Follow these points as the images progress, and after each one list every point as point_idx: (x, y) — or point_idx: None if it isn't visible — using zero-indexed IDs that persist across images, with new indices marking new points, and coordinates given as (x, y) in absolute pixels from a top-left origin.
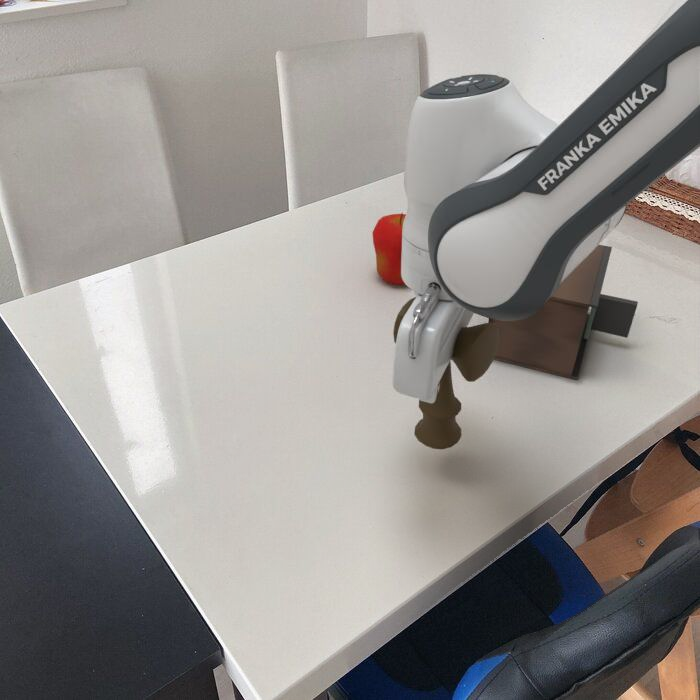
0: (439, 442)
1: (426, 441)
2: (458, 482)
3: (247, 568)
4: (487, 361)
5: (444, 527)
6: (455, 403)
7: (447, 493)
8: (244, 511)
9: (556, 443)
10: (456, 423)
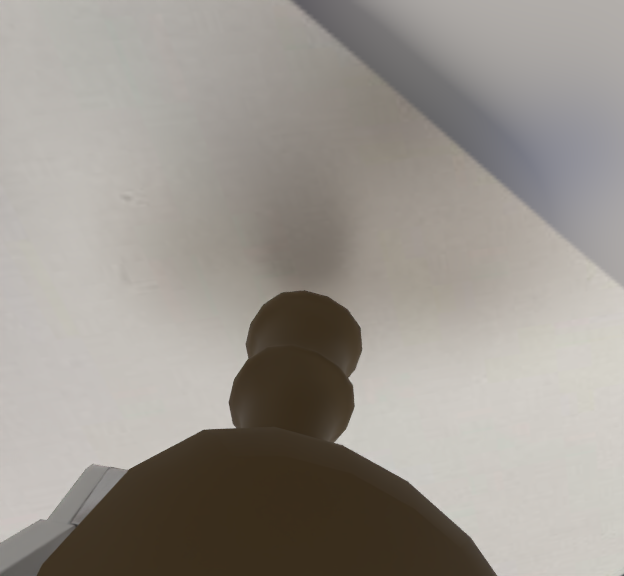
0: (354, 344)
1: (352, 370)
2: (343, 246)
3: (587, 519)
4: (329, 535)
5: (467, 257)
6: (294, 376)
7: (378, 263)
8: (481, 545)
9: (148, 24)
10: (284, 318)
